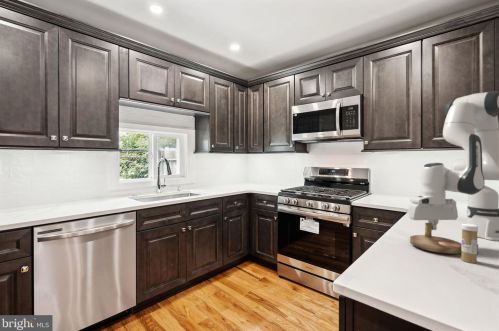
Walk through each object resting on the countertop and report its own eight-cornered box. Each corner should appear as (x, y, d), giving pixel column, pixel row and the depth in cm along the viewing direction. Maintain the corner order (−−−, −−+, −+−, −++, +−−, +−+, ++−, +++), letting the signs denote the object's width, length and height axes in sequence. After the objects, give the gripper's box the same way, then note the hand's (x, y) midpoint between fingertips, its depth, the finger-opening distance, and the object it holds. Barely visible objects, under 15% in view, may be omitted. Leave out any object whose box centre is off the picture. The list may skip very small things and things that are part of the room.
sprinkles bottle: (457, 258, 93) (458, 223, 93) (468, 258, 94) (469, 223, 94) (469, 263, 89) (470, 226, 89) (481, 263, 89) (481, 226, 89)
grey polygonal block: (476, 252, 101) (476, 243, 101) (478, 253, 99) (478, 244, 99) (463, 250, 102) (463, 242, 102) (464, 252, 101) (465, 243, 101)
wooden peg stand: (449, 241, 111) (449, 223, 111) (473, 255, 94) (474, 234, 94) (404, 237, 116) (404, 220, 116) (419, 250, 99) (419, 230, 99)
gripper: (449, 197, 115) (449, 227, 115) (406, 198, 115) (406, 228, 115) (461, 199, 109) (461, 231, 109) (415, 200, 108) (415, 231, 108)
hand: (433, 229), depth 112 cm, fingers closed
